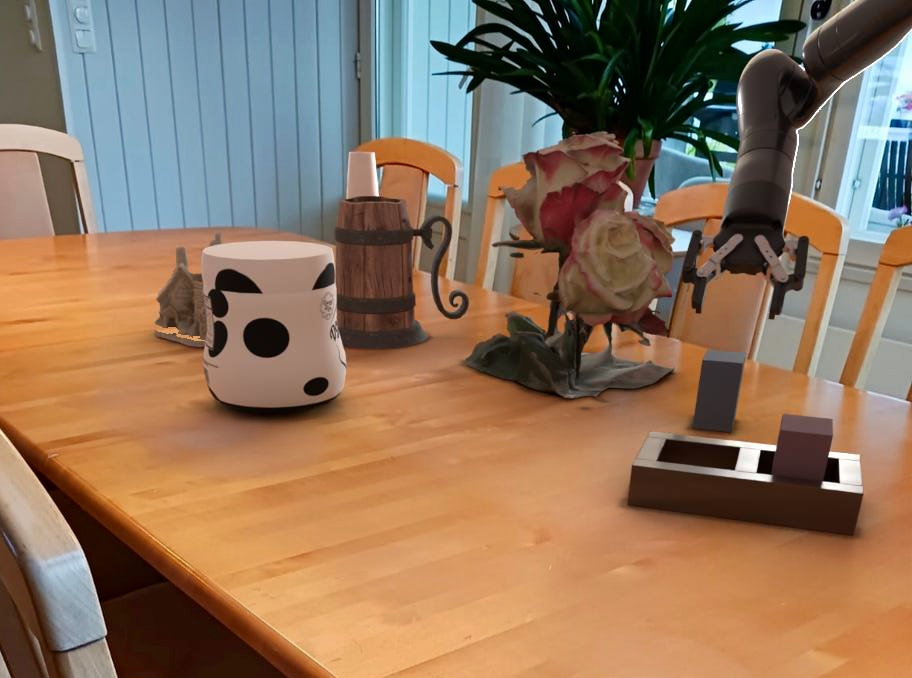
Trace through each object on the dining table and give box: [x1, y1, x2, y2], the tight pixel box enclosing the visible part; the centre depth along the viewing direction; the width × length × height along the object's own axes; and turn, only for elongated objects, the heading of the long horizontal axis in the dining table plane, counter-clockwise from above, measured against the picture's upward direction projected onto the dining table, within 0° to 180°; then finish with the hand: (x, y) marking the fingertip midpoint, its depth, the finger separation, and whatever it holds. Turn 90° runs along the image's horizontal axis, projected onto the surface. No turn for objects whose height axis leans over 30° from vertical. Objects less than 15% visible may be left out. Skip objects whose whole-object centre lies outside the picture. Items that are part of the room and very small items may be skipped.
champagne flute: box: [345, 151, 380, 199], centre depth 185 cm, size 7×7×24 cm
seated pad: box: [771, 413, 834, 481], centre depth 92 cm, size 6×4×8 cm
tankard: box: [333, 195, 470, 349], centre depth 150 cm, size 24×17×20 cm
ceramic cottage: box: [154, 232, 224, 348], centre depth 150 cm, size 16×16×15 cm
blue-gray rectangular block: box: [691, 349, 747, 433], centre depth 114 cm, size 6×4×8 cm
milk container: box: [200, 240, 347, 414], centre depth 117 cm, size 17×17×18 cm
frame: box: [626, 430, 865, 536], centre depth 94 cm, size 11×20×4 cm, turn 71°
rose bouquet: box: [449, 131, 676, 400], centre depth 130 cm, size 26×29×30 cm
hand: (734, 312), depth 116 cm, fingers open, 8 cm apart
